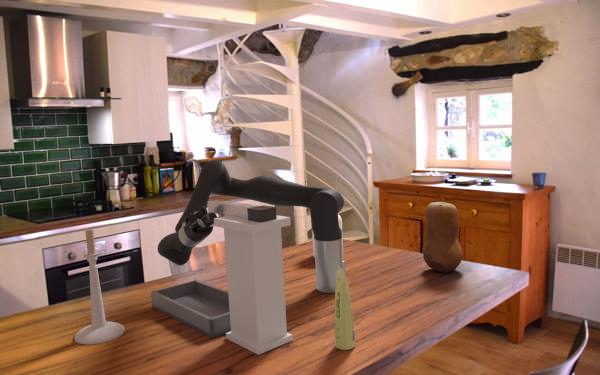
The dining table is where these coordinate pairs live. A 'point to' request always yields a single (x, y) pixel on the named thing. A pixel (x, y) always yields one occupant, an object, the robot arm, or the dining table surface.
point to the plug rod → (243, 210)
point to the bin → (196, 306)
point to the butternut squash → (442, 237)
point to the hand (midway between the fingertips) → (219, 207)
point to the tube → (343, 314)
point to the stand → (255, 282)
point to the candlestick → (96, 305)
